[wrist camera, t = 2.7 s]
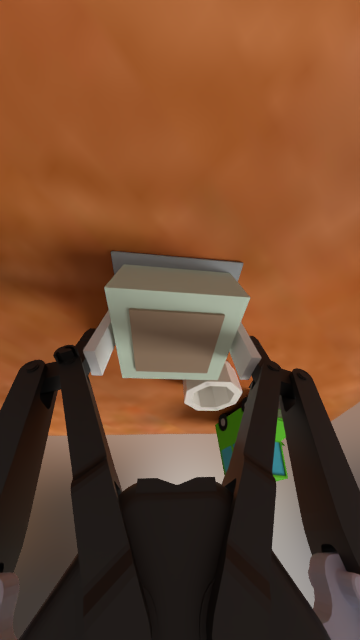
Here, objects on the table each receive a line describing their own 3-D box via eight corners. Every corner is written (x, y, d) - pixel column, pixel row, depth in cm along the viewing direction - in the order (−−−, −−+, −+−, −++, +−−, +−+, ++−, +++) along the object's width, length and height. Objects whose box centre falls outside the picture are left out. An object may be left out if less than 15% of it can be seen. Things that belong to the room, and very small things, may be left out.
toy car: (291, 399, 31) (332, 467, 23) (245, 425, 38) (265, 485, 30) (251, 387, 28) (283, 461, 20) (210, 418, 35) (221, 482, 27)
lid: (132, 343, 20) (121, 379, 16) (123, 264, 14) (102, 288, 10) (209, 346, 21) (218, 382, 17) (229, 273, 15) (251, 299, 11)
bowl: (181, 385, 27) (182, 410, 24) (186, 355, 22) (188, 381, 19) (224, 386, 27) (231, 410, 24) (237, 357, 23) (248, 382, 20)
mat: (126, 346, 21) (125, 348, 21) (111, 250, 14) (110, 251, 14) (214, 350, 22) (214, 352, 22) (242, 262, 15) (243, 263, 15)
